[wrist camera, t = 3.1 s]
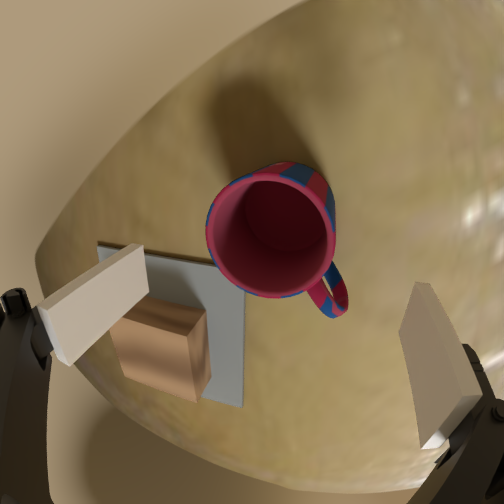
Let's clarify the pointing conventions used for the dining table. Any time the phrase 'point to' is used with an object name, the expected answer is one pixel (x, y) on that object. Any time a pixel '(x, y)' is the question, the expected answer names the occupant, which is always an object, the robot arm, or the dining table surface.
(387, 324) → the dining table surface
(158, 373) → the base block
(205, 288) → the mat
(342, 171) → the dining table surface
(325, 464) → the dining table surface
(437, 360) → the robot arm
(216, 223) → the mug
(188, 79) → the dining table surface
